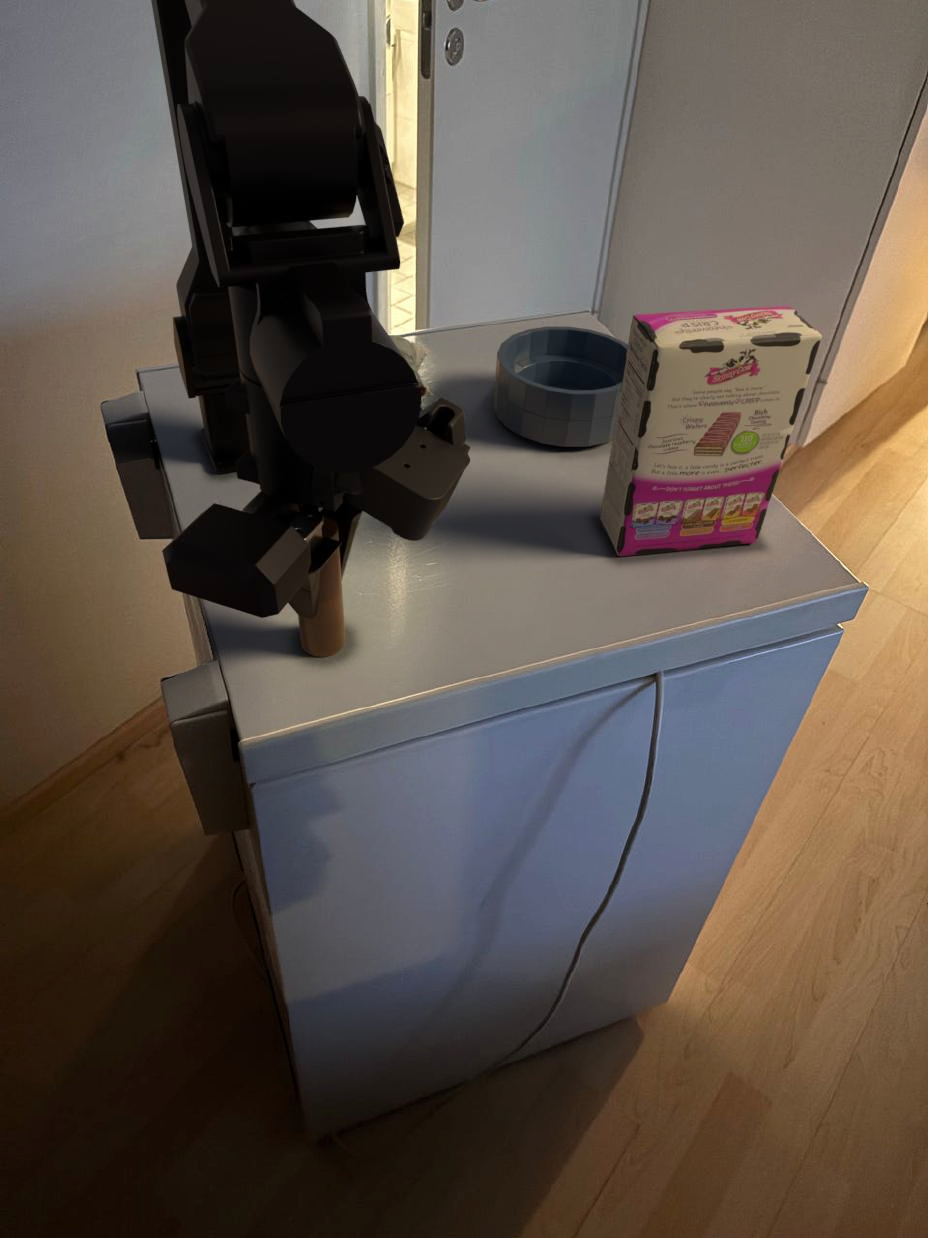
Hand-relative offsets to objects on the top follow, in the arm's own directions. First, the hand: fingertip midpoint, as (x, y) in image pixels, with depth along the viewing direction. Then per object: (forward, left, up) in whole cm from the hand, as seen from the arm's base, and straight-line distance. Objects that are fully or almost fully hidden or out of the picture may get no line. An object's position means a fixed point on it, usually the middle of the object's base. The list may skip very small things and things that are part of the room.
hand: (319, 600), depth 54 cm
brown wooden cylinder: (0, 0, -4) cm, 4 cm away
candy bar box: (+28, +2, -4) cm, 28 cm away
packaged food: (+13, +30, -4) cm, 33 cm away
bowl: (+28, +20, -4) cm, 35 cm away
